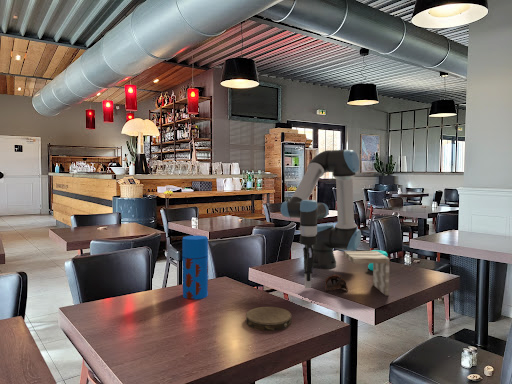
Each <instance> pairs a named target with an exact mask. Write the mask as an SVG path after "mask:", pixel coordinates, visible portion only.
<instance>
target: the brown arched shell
mask: <svg viewBox="0 0 512 384" xmlns="http://www.w3.org/2000/svg"><path fill="white" fill-rule="evenodd" d="M324 282H325V285H324V288H325V291H326V292H328V291H335V290H337V289H341V290H342V289H343V290H346V292H349V291H348V290H349V289H348V286H347V282H346V279H344V278H343V277H341V276H340V275H339V274H332V275H330V276H328V277H327V278H326V279H325V281H324ZM328 282H331V284H330V283H328Z"/></svg>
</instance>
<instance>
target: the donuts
mask: <svg viewBox="0 0 512 384" xmlns="http://www.w3.org/2000/svg"><path fill="white" fill-rule="evenodd" d="M371 251H378V252H379V253H381V254H383V255H384V256H386V257H388V255H389V254H388V253H387V251H384V250H380V249H373V250H371ZM367 268H368V269H369V270H370V271H372V272H373V263H368V265H367Z"/></svg>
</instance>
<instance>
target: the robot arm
mask: <svg viewBox="0 0 512 384" xmlns="http://www.w3.org/2000/svg"><path fill="white" fill-rule="evenodd" d="M359 169H360V160H359V156H358V154H357V152H356V151H355V150H353V149H337V150H336V149H335V150H334V149H333V150H323V151H322V152H319V153H318V154H317V155H316V156H314V157H313V158H312V159H311V160H310V162H309V163H308V164H307V167H306V172H305V174H304V175H303V177H302V178H301V180H300V182H299V184H298V186H297V188H296V190H295V191H294V193H293V195H292V196H291V197H290V200H289V201H283V202H282V203H281V205H280V213H281V215H282V216H283V217H285V218H294V219H295V218H296V219H299V227H298V230H299V234H300V235H299V244H300V245H304V246H303V248H302V250H303V270H304V271H303V274H304V289H311V288H312V274H313V268H316V269H324V270H325V269H333V268H336V267H337V261H336V257H335V254H334V249H337V250H343V251H357V249H358V248H359V246H360V243H361V240H362V232H361V229H359V228H358V225H357V224H356V223H355V214H354V210H355V209H354V182H353V181H354V180H353V179H354V178H355V176H356V173H357V172H359ZM325 173H332V177H334V179H335V182H336V183H335V184H336V185H335V187H336V211H337V214H336V215H337V223H336V224H335V225H334V224H332V223H329V224H328V223H327V224H318V220H323V219H324V218H325V219H326V217H328V215H329V214H330V213H329V211H330V210H329V209H330V208H329V207H328V205H327V204H326V203H323V202H317V200H315V199H309V198H310V196H311V194H312V192H313V191H314V189H315V188H316V185H317V183H318V182H319V180H320V178H321V177H323V176H324V175H325Z"/></svg>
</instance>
